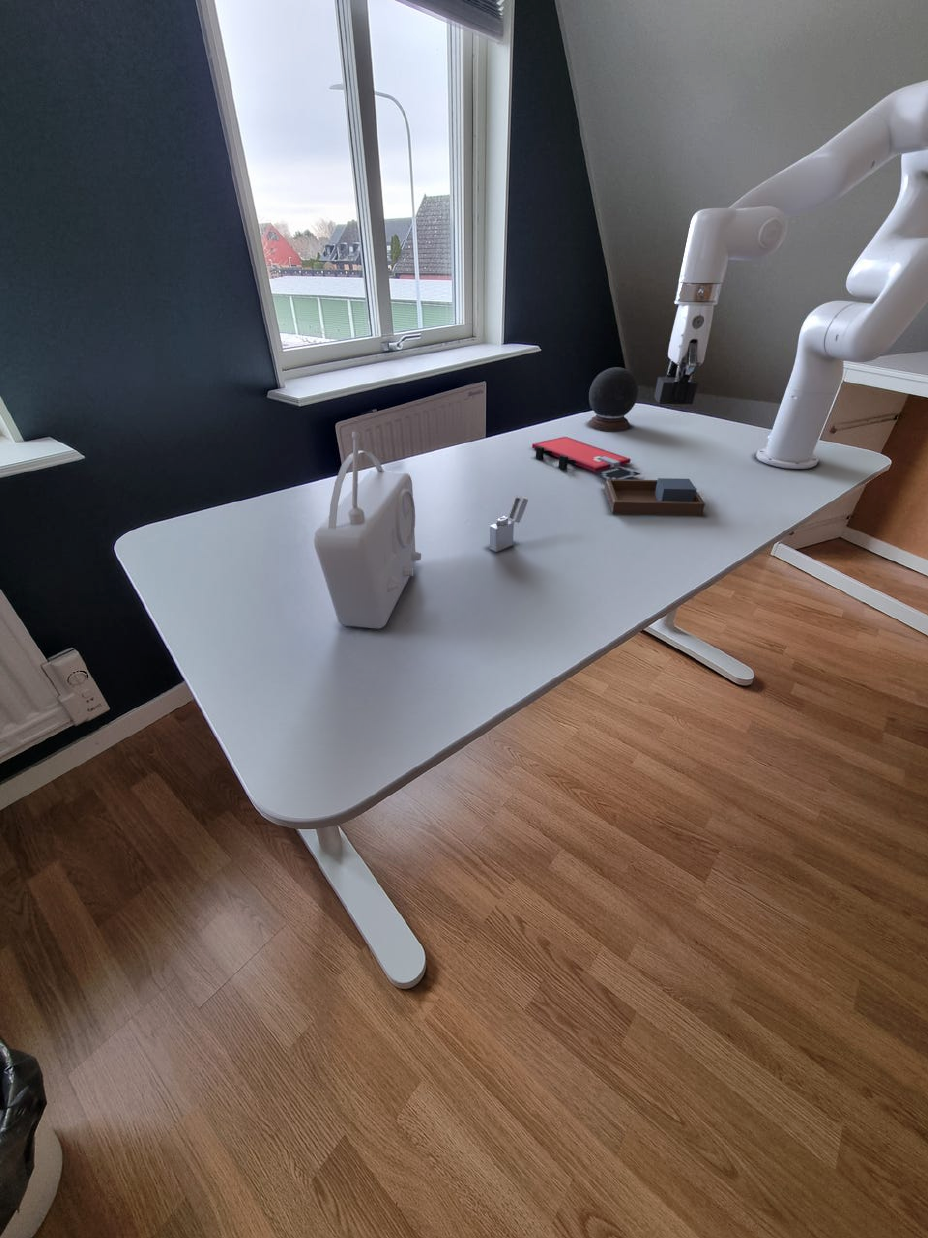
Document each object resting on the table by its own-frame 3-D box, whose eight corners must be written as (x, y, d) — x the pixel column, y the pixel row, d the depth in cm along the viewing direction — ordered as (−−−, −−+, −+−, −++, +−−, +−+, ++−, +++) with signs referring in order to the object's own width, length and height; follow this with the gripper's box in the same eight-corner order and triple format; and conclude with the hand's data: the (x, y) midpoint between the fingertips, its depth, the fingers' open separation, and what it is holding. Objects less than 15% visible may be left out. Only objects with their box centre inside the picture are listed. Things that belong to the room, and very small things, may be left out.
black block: (653, 397, 105) (658, 376, 103) (686, 397, 104) (691, 377, 102) (659, 403, 101) (663, 382, 98) (692, 404, 100) (698, 382, 98)
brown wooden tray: (604, 490, 104) (606, 478, 103) (685, 491, 103) (688, 480, 101) (612, 513, 95) (614, 501, 94) (701, 515, 94) (705, 503, 92)
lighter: (495, 552, 84) (496, 508, 79) (489, 548, 85) (489, 504, 80) (525, 539, 88) (528, 496, 83) (519, 535, 89) (521, 493, 84)
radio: (390, 642, 65) (363, 452, 50) (331, 636, 66) (287, 449, 52) (428, 560, 82) (417, 400, 67) (380, 556, 84) (359, 398, 69)
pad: (654, 494, 101) (658, 478, 99) (684, 495, 100) (689, 478, 98) (660, 506, 96) (664, 488, 94) (692, 506, 96) (696, 489, 94)
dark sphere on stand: (641, 429, 138) (652, 370, 129) (599, 434, 136) (607, 374, 127) (617, 417, 149) (626, 361, 140) (577, 421, 146) (583, 365, 137)
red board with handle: (606, 487, 105) (655, 473, 111) (608, 474, 103) (657, 461, 109) (520, 451, 125) (565, 442, 132) (520, 440, 124) (566, 431, 130)
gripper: (733, 298, 84) (703, 410, 95) (705, 291, 98) (682, 390, 109) (687, 298, 85) (663, 409, 96) (666, 291, 99) (647, 389, 109)
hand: (673, 398), depth 102 cm, fingers closed on black block, 5 cm apart
